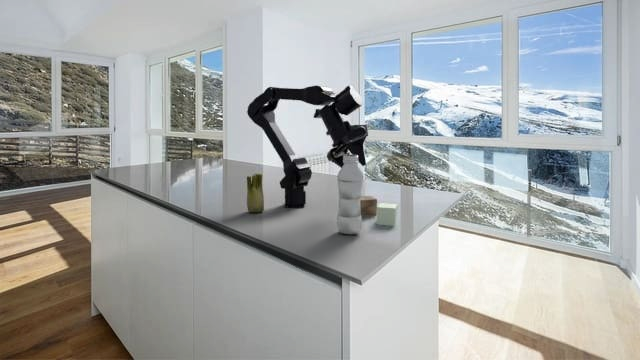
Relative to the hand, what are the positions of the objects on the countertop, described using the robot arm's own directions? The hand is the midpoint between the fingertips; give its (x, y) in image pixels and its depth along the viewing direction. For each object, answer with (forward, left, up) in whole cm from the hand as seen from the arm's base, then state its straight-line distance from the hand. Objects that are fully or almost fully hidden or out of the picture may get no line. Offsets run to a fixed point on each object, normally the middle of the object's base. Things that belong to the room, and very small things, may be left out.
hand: (358, 170), depth 107 cm
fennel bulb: (-31, +6, -14) cm, 34 cm away
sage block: (+7, -7, -14) cm, 17 cm away
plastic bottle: (-5, -16, -14) cm, 22 cm away
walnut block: (+3, +3, -14) cm, 15 cm away
